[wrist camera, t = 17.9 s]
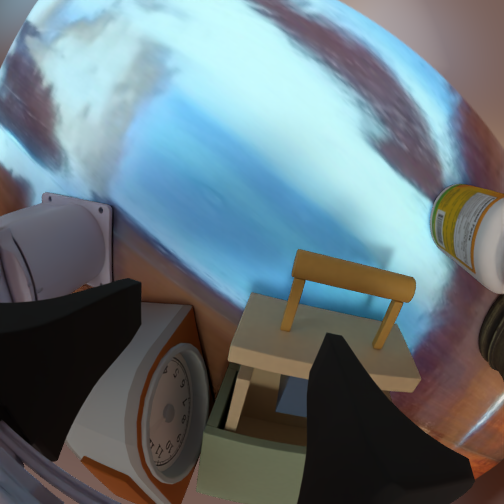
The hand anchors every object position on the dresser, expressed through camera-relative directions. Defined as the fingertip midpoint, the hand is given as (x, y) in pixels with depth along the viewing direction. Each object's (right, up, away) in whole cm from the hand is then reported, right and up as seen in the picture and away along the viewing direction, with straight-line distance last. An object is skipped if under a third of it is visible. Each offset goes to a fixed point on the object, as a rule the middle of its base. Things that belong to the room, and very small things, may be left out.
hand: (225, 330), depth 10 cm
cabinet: (+4, -15, +15) cm, 22 cm away
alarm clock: (-7, -8, +15) cm, 19 cm away
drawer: (+6, -5, +11) cm, 13 cm away
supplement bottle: (+16, +5, +6) cm, 18 cm away
